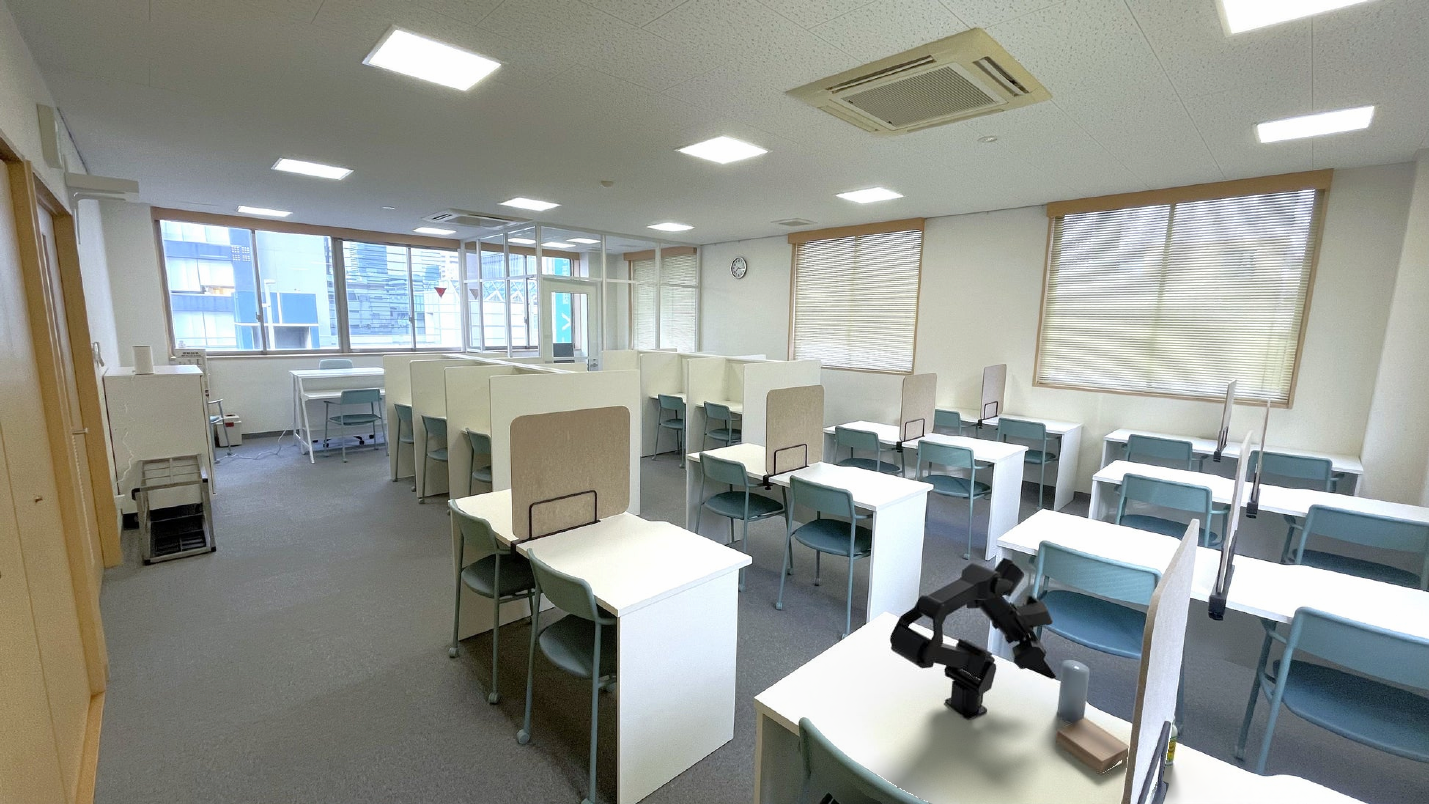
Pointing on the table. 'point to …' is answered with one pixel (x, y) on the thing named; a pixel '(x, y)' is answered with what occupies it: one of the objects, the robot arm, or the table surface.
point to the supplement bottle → (1172, 744)
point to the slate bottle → (1073, 691)
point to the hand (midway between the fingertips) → (1049, 665)
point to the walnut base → (1092, 745)
